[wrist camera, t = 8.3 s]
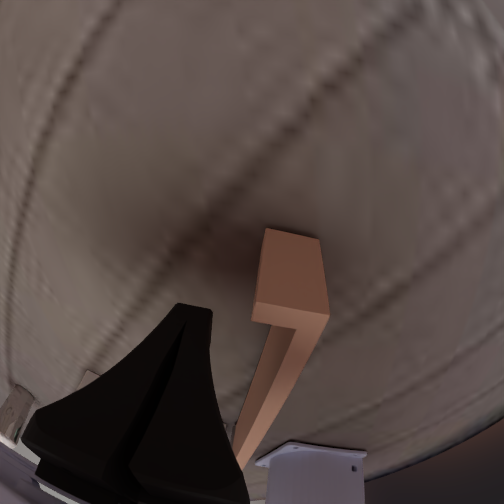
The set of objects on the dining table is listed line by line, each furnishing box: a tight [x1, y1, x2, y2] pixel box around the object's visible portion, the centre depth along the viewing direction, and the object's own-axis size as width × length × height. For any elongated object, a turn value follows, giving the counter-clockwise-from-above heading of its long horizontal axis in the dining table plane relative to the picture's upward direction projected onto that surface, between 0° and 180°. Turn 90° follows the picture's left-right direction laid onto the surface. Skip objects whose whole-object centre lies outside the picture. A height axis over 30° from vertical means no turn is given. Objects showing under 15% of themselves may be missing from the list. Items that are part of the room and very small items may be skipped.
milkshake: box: [0, 385, 34, 448], centre depth 25 cm, size 4×5×10 cm
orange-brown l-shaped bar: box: [230, 228, 330, 470], centre depth 16 cm, size 19×2×4 cm, turn 170°
